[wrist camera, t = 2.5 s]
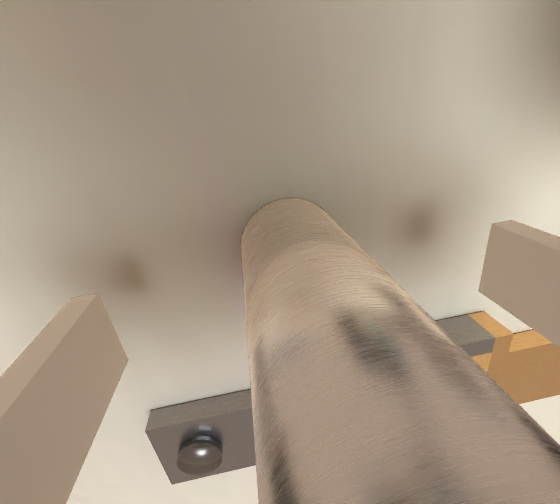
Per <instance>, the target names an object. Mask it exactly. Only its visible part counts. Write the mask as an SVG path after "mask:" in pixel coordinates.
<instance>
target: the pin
mask: <svg viewBox="0 0 560 504" xmlns="http://www.w3.org/2000/svg"><path fill="white" fill-rule="evenodd" d="M241 254H242V269H243V283H244V298H245V312H246V327H247V341H248V355H249V370H250V384H251V399H252V413H253V428H254V442H255V456H256V471H257V485H258V500H259V504H560V445H559V444H558V443H557V442H556V441H555V440H554V439H553V438H552V437H551V436H550V435H549V434H548V433H547V432H546V431H545V430H544V429H543V428H542V427H541V426H540V425H539V424H538V423H537V422H536V421H535V420H534V419H533V418H532V417H531V416H530V415H529V414H528V413H527V412H526V411H525V410H524V409H523V408H522V407H521V406H520V405H519V404H518V403H517V402H516V401H515V400H514V399H513V398H512V397H511V396H510V395H509V394H508V393H507V392H506V391H505V390H504V389H503V388H502V387H501V386H500V385H499V384H498V383H497V382H496V381H495V380H494V379H493V378H492V377H491V376H490V375H489V374H488V373H487V372H486V371H485V370H484V369H483V368H481V367H480V366H479V365H478V364H477V363H476V362H475V361H474V360H473V359H472V358H471V357H470V356H469V355H468V354H467V353H466V352H465V351H464V350H463V349H462V348H461V347H460V346H459V345H458V344H457V343H456V342H455V341H454V340H453V339H452V338H451V337H450V336H449V335H448V334H447V333H446V332H445V331H444V330H443V329H442V328H441V327H440V326H439V325H438V324H437V323H436V322H435V321H434V320H433V319H432V318H431V317H430V316H429V315H428V314H427V313H426V312H425V311H424V310H423V309H422V308H421V307H420V306H419V305H418V304H417V303H416V302H415V301H414V300H413V299H412V298H411V297H410V296H409V295H408V294H407V293H406V292H405V291H404V290H403V289H402V288H401V287H400V286H399V285H398V284H397V283H396V282H395V281H394V280H393V279H392V278H391V277H390V276H389V275H388V274H387V273H386V272H385V271H384V270H383V269H382V268H381V267H380V266H379V265H378V264H377V263H376V262H375V261H374V260H373V259H372V258H371V257H370V256H369V255H368V254H367V253H366V252H365V251H364V250H363V249H362V248H361V247H360V246H359V245H358V244H357V243H356V242H355V241H354V240H353V239H352V238H351V237H350V236H349V235H348V234H347V233H346V232H345V231H344V230H343V229H342V228H341V227H340V226H339V225H338V224H337V223H336V222H335V221H334V220H333V219H332V218H331V217H330V216H329V215H328V214H327V213H326V212H325V211H324V210H323V209H321V208H320V207H319V206H317V205H316V204H314V203H312V202H310V201H307V200H304V199H299V198H285V199H280V200H276V201H273V202H271V203H269V204H267V205H265V206H264V207H262V208H261V209H259V210H258V211H257V212H256V213H255V214H254V215H253V216H252V217H251V218H250V220H249V221H248V223H247V225H246V227H245V229H244V232H243V235H242V240H241Z"/></svg>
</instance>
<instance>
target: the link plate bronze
mask: <svg viewBox="0 0 560 504" xmlns="http://www.w3.org/2000/svg"><path fill="white" fill-rule="evenodd" d="M468 315H469V316H470V317H471V318H473V319H474V320H475V321H476V322H477V323H479V324H480V325H481V326H482V327H483V328H485V329H486V330H487V331H488V332H489V333H491V334H492V335H493V336H494V337H495V338H496V339H495V343H494V347H493V351H492V352H491V353H487V354H482V355H477V356H473V357H471V358H472V359H473V360H474V361H475V362H476V363H477V364H478V365H479V366H480V367H481V368H483V369H484V370H485V371H486V372H487V373H488V374H489V375H490V376H491V377H492V378H493V379H494V380H495V381H496V382H497V383H498V384H499V385H500V386H501V387H502V388H503V389H504V390H505V391H506V392H507V393H508V394H509V395H510V396H511V397H512V398H513V399H514V400H515V401H516V402H517V403H518V404H521V403H525V402H530V401H534V400H538V399H543V398H547V397H551V396H555V395H560V348H559V347H558V346H557V345H555V344H554V343H552V342H551V341H549V340H548V339H546V338H545V337H544V336H542V335H541V334H539V333H538V332H536V331H535V330H530V331H525V332H520V333H516V334H513V333H512V332H510V331H509V330H508V329H506V328H505V327H504V326H503V325H501V324H500V323H499V322H497V321H496V320H495V319H493V318H492V317H491V316H489V315H488V314H487V313H486V312H484V311H482V312H477V313H472V314H468Z"/></svg>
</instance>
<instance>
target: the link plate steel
mask: <svg viewBox="0 0 560 504" xmlns="http://www.w3.org/2000/svg"><path fill="white" fill-rule="evenodd" d="M435 322H436V323H437V324H438V325H439V326H440V327H441V328H442V329H443V330H444V331H445V332H446V333H447V334H448V335H449V336H450V337H451V338H452V339H453V340H454V341H455V342H456V343H457V344H458V345H459V346H460V347H461V348H462V349H463V350H464V351H465V352H466V353H467V354H468V355H469V356H470V357H473V356H477V355H482V354H487V353H491V352H492V351H493V347H494V343H495V339H496V338H495V337H494V336H493V335H492V334H491V333H489V332H488V331H487V330H486V329H485V328H483V327H482V326H481V325H480V324H479V323H477V322H476V321H475V320H474V319H473V318H471V317H470V316H469V315H468V314H467V315H462V316H457V317H452V318H447V319H442V320H437V321H435ZM145 431H146V434H147V436H148V438H149V440H150V442H151V444H152V446H153V448H154V450H155V452H156V454H157V456H158V458H159V460H160V462H161V464H162V466H163V468H164V470H165V472H166V474H167V476H168V478H169V480H170V482H171V484H176V483H181V482H185V481H189V480H193V479H198V478H202V477H206V476H211V475H215V474H219V473H224V472H228V471H232V470H237V469H241V468H245V467H250V466H254V465H256V456H255V442H254V428H253V413H252V399H251V389H250V390H245V391H240V392H235V393H231V394H226V395H221V396H216V397H212V398H207V399H202V400H197V401H193V402H188V403H183V404H178V405H174V406H169V407H164V408H159V409H155V410H151V412H150V416H149V419H148V423H147V426H146V430H145Z"/></svg>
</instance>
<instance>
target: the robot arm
mask: <svg viewBox="0 0 560 504" xmlns="http://www.w3.org/2000/svg"><path fill="white" fill-rule="evenodd" d="M478 291H479V292H480V293H482V294H483V295H485V296H486V297H488V298H489V299H490V300H492V301H493V302H495V303H496V304H498V305H499V306H501V307H502V308H503V309H505V310H506V311H508V312H509V313H511V314H512V315H513V316H515V317H516V318H518V319H519V320H521V321H522V322H524V323H525V324H526V325H528V326H529V327H531V328H532V329H534V330H535V331H536V332H538V333H539V334H541V335H542V336H544V337H545V338H546V339H548V340H549V341H551V342H552V343H554V344H555V345H557V346H558V347H559V348H560V237H558V236H555V235H552V234H549V233H547V232H544V231H541V230H538V229H536V228H533V227H530V226H527V225H524V224H522V223H519V222H516V221H513V220H510V221H504V222H498V223H493V224H492V225H491V230H490V235H489V240H488V245H487V250H486V255H485V260H484V265H483V270H482V275H481V280H480V285H479V290H478ZM127 362H128V358H127V356H126V354H125V352H124V349H123V347H122V345H121V343H120V341H119V338H118V336H117V334H116V332H115V330H114V327H113V325H112V323H111V321H110V319H109V317H108V314H107V312H106V310H105V308H104V306H103V303H102V301H101V299H100V297H99V295H98V293H96V294H90V295H85V296H79V297H73V298H71V299H70V300H69V302H68V303H67V304H66V305H65V306H64V307H63V308H62V309H61V310H60V312H59V313H58V314H57V315H56V316H55V317H54V318H53V319H52V320H51V321H50V323H49V324H48V325H47V326H46V327H45V328H44V329H43V330H42V331H41V333H40V334H39V335H38V336H37V337H36V338H35V339H34V340H33V341H32V343H31V344H30V345H29V346H28V347H27V348H26V349H25V350H24V351H23V353H22V354H21V355H20V356H19V357H18V358H17V359H16V360H15V361H14V363H13V364H12V365H11V366H10V367H9V368H8V369H7V370H6V371H5V373H4V374H3V375H2V376H1V377H0V504H66V502H67V500H68V498H69V495H70V493H71V491H72V488H73V486H74V484H75V482H76V479H77V477H78V475H79V472H80V470H81V468H82V465H83V463H84V461H85V458H86V456H87V454H88V452H89V449H90V447H91V445H92V442H93V440H94V438H95V435H96V433H97V431H98V428H99V426H100V424H101V422H102V419H103V417H104V415H105V412H106V410H107V408H108V405H109V403H110V401H111V398H112V396H113V394H114V392H115V389H116V387H117V385H118V382H119V380H120V378H121V375H122V373H123V371H124V368H125V366H126V364H127Z"/></svg>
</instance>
